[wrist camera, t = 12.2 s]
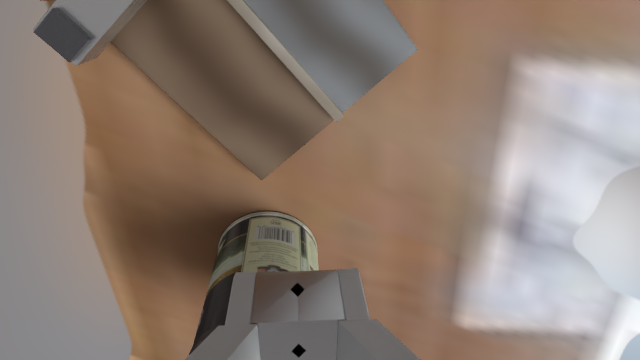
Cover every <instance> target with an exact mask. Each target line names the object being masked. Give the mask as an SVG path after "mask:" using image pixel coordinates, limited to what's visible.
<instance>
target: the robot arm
mask: <svg viewBox="0 0 640 360" xmlns="http://www.w3.org/2000/svg"><path fill="white" fill-rule="evenodd" d="M185 360H421V359H419V358H418V357H417V356H416V355H415V354H414V353H413V352H412V351H411V350H410V349H409V348H407V347H406V346H405V345H404V344H403V343H402V342H401V341H400V340H399V339H398V338H396V337H395V336H394V335H393V334H392V333H391V332H390V331H389V330H388V329H387V328H386V327H384V326H383V325H382V324H381V323H380V322H379V321H378V320H377V319H370V316H369V312H368V308H367V303H366V299H365V295H364V290H363V286H362V282H361V278H360V273H359V270H358V269H357V268H352V269H337V270H315V271H277V272H236V273H235V275H234V277H233V283H232V288H231V294H230V299H229V305H228V310H227V316H226V321H225V325H223V326H218V327H217V328H216V329H215V330H214V331H213V332H212V333H211V334H210V335H209V336H208V337H207V338H206V339H205V340H204V341H203V342H202V343H201V344H200V345H199V346H198V347H197V348H196V349H195V350H194V351H193V352H192V353H191V354H190V355H189V356H188V357H187V358H186V359H185Z"/></svg>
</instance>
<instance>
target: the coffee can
mask: <svg viewBox="0 0 640 360" xmlns="http://www.w3.org/2000/svg"><path fill="white" fill-rule="evenodd" d="M317 253H318V251H317V244H316V240H315V238H314V236H313V234H312V233H311V231H310V230H309V228H308V227H307V226H306V225H304V224H303V223H302V222H301V221H299V220H298V219H296V218H294V217H292V216H289V215H286V214H283V213H279V212H270V211H265V212H256V213H251V214H248V215H246V216H243V217H241V218H239V219H237V220H236V221H234V222H233V223H232V224H231V225H230V226H229V227H228V228H227V229H226V230H225V231H224V233H223V234H222V236H221V238H220V241H219V245H218V252H217V256H216V259H215V264H214V268H213V272H212V276H211V280H210V284H209V287H208V291H207V295H206V299H205V303H204V306H203V310H202V313H201V317H200V321H199V325H198V329H197V333H196V337H195V340H194V344H193V347H192V349H191V351H190V353H189V355H190V354H191V353H192V352H193V351H194V350H195V349H196V348H197V347H198V346H199V345H200V344H201V343H202V342H203V341H204V340H205V339H206V338H207V337H208V336H209V335H210V334H211V333H212V332H213V331H214V330H215V329H216V328H217V327H218V326H223V325H225V321H226V316H227V310H228V305H229V299H230V294H231V288H232V283H233V277H234V275H235V273H236V272H277V271H315V270H319V269H318V258H317Z"/></svg>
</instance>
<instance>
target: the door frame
mask: <svg viewBox="0 0 640 360" xmlns="http://www.w3.org/2000/svg"><path fill="white" fill-rule="evenodd" d="M41 1H46V0H41ZM111 43H112V44H114V45H115V46H116V47H117V48H118V49H119V50H120V51H121V52H122V53H123V54H124V55H126V56H127V57H128V58H129V59H130V60H131V61H132V62H133V63H134V64H135V65H136V66H137V67H139V68H140V69H141V70H142V71H143V72H144V73H145V74H146V75H147V76H148V77H149V78H151V79H152V80H153V81H154V82H155V83H156V84H157V85H158V86H159V87H160V88H161V89H163V90H164V91H165V92H166V93H167V94H168V95H169V96H170V97H171V98H172V99H173V100H174V101H176V102H177V103H178V104H179V105H180V106H181V107H182V108H183V109H184V110H185V111H186V112H188V113H189V114H190V115H191V116H192V117H193V118H194V119H195V120H196V121H197V122H198V123H200V124H201V125H202V126H203V127H204V128H205V129H206V130H207V131H208V132H209V133H210V134H211V135H213V136H214V137H215V138H216V139H217V140H218V141H219V142H220V143H221V144H222V145H223V146H225V147H226V148H227V149H228V150H229V151H230V152H231V153H232V154H233V155H234V156H235V157H237V158H238V159H239V160H240V161H241V162H242V163H243V164H244V165H245V166H246V167H247V168H248V169H250V170H251V171H252V172H253V173H254V174H255V175H256V176H257V177H258V178H259V179H260V180H263V179H264V178H265V177H266V176H268V175H269V174H270V173H271V172H272V171H274V170H275V169H276V168H277V167H278V166H280V165H281V164H282V163H283V162H284V161H286V160H287V159H288V158H289V157H290V156H291V155H293V154H294V153H295V152H296V151H297V150H299V149H300V148H301V147H302V146H303V145H305V144H306V143H307V142H308V141H309V140H311V139H312V138H313V137H314V136H315V135H316V134H318V133H319V132H320V131H321V130H322V129H324V128H325V127H326V126H327V125H328V124H330V123H331V122H332V121H333V120H335V121H336V122H338V121H339V120H340V119H342V118H343V117H344V114H343V112H344V111H345V110H346V109H347V108H349V107H350V106H351V105H352V104H353V103H355V102H356V101H357V100H358V99H359V98H361V97H362V96H363V95H364V94H365V93H367V92H368V91H369V90H370V89H371V88H372V87H374V86H375V85H376V84H377V83H378V82H380V81H381V80H382V79H383V78H384V77H386V76H387V75H388V74H389V73H390V72H392V71H393V70H394V69H395V68H396V67H398V66H399V65H400V64H401V63H402V62H403V61H405V60H406V59H407V58H408V57H409V56H411V55H412V54H413V53H414V52H415V51H417V50H418V49H417V47H416V46H415V44H414V43H413V42H412V40H411V39H410V37H409V36H408V35H407V33H406V32H405V30H404V29H403V28H402V26H401V25H400V23H399V22H398V21H397V19H396V18H395V16H394V15H393V14H392V12H391V11H390V9H389V8H388V7H387V5H386V4H385V2H384V1H383V0H147V1H146V2H145V3H144V4H143V6H142V7H141V8H140V9H139V10H138V11H137V12H136V14H135V15H134V16H133V17H132V18H131V19H130V20H129V22H128V23H127V24H126V25H125V26H124V27H123V28H122V29H121V31H120V32H119V33H118V34H117V35H116V36H115V37H114V39H113V40H112V41H111Z"/></svg>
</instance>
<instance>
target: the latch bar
mask: <svg viewBox="0 0 640 360" xmlns="http://www.w3.org/2000/svg"><path fill="white" fill-rule="evenodd" d="M146 1H147V0H56V1H55V2H54V3H53V4H52V6H51V7H50V8H49V9H48V11H47V12H46V13H45V14H44V16H43V17H42V18H41V20H40V21H39V22H38V23H37V25H36V26H35V27H34V28H33V30H34V33H35V34H36V35H38V36H39V37H40V38H41V39H42V40H44V41H45V42H46V43H47V44H49V45H50V46H51V47H52V48H53V49H54V50H55V51H57V52H58V53H59V54H60V55H61V56H62V57H64V58H65V59H66V60H67V61H68V62H72V63H73V64H74V65H76V66H78V65H80V64H83V63H85V62H88V61H90V60H92V59H95V58H97V57H98V56H99V55H100V53H101V52H102V51H103V50H104V49H105V48H106V47H107V45H108V44H109V43H110V42H111V41H112V40H113V39H114V37H115V36H116V35H117V34H118V33H119V32H120V31H121V29H122V28H123V27H124V26H125V25H126V24H127V23H128V22H129V20H130V19H131V18H132V17H133V16H134V15H135V14H136V12H137V11H138V10H139V9H140V8H141V7H142V6H143V4H144V3H145V2H146Z"/></svg>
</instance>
